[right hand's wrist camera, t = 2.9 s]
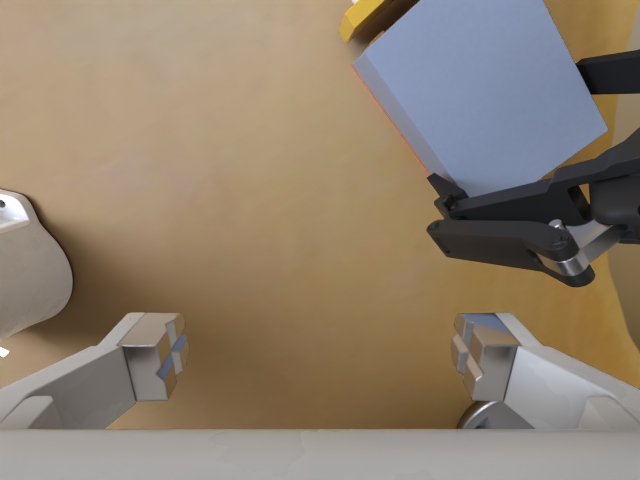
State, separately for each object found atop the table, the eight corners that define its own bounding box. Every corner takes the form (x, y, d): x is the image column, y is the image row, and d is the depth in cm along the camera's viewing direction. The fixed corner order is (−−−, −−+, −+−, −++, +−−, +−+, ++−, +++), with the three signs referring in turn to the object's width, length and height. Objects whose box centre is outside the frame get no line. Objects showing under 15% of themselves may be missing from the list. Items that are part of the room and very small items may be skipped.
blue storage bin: (351, 65, 33) (363, 51, 25) (453, -28, 30) (504, -77, 22) (445, 196, 38) (482, 220, 29) (541, 124, 35) (609, 130, 27)
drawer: (297, -25, 29) (293, -61, 23) (395, -125, 27) (419, -195, 21) (432, 165, 35) (458, 178, 29) (522, 95, 33) (571, 93, 27)
